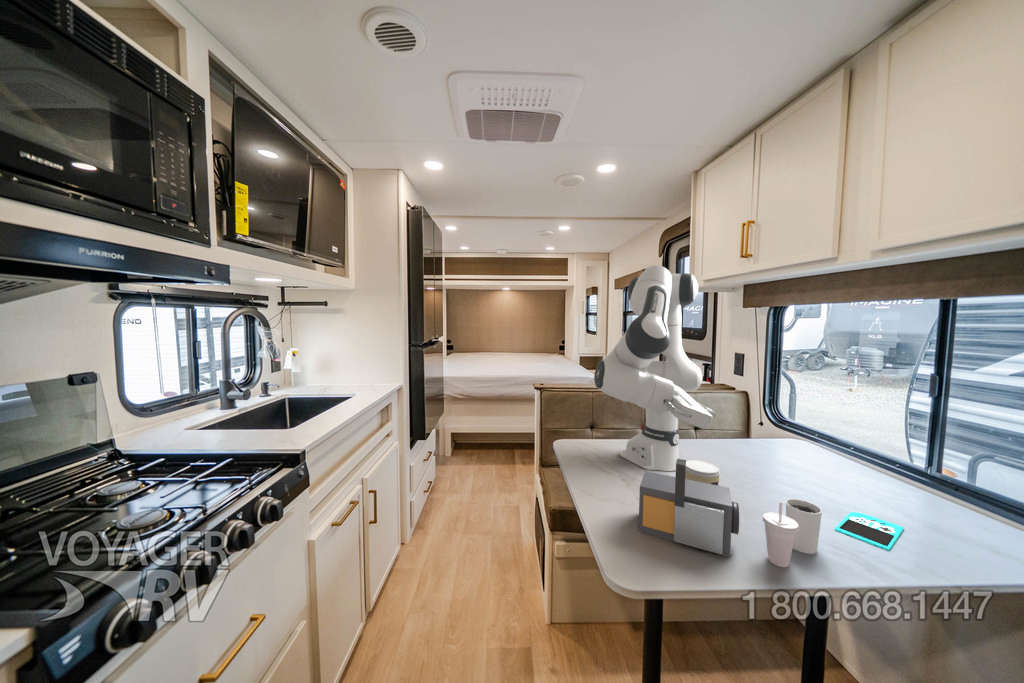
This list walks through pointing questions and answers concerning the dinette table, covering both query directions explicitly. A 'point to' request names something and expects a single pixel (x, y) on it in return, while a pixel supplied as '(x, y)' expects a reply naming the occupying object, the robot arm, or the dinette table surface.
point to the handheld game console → (870, 530)
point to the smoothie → (779, 537)
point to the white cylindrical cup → (805, 524)
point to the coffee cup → (702, 472)
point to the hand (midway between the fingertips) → (712, 414)
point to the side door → (696, 518)
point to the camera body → (661, 501)
